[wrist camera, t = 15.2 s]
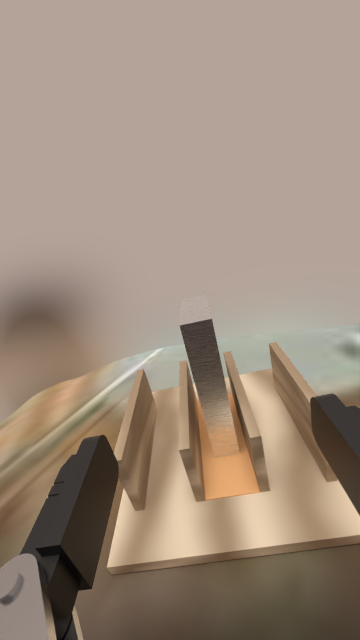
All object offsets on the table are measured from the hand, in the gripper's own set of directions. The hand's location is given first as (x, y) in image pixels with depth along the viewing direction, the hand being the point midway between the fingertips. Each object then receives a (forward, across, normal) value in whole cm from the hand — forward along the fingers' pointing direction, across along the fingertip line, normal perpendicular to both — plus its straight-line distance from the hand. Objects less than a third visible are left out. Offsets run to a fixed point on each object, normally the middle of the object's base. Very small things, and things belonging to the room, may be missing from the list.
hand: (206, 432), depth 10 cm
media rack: (+12, 0, +14) cm, 19 cm away
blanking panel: (+12, 0, +13) cm, 18 cm away
